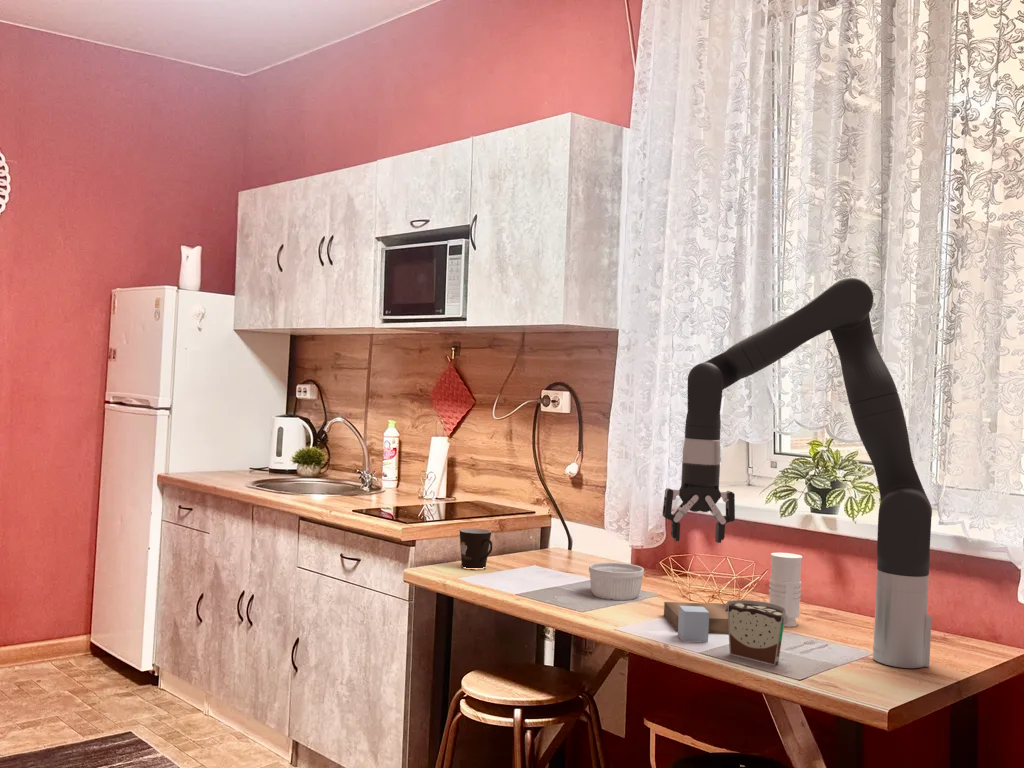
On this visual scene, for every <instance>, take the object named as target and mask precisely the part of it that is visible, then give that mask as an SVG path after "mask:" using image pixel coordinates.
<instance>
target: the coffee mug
mask: <svg viewBox="0 0 1024 768" xmlns="http://www.w3.org/2000/svg"><path fill="white" fill-rule="evenodd" d="M491 537H492V530H489V529H486V528H485V529H484V528H471V527H470V528H469V527H468V528H461V529H459V543H460V560H461V562H460V563H461V567H462V566H463V567H466V568H483V567H487V566H486V565H487V560H488V557H489V556H490V554H491V553H492V550H493V542H492V540H491Z"/></svg>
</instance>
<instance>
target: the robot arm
mask: <svg viewBox="0 0 1024 768" xmlns="http://www.w3.org/2000/svg"><path fill="white" fill-rule="evenodd" d="M873 305H874V294H873V290H872V289H871V286H870V285H869V284H868V283H867V282H866V281H864V280H862V279H860V278H857V277H849V276H848V277H844V278H840V279H838V280H836V281H834V282H833V283H831V284H830V285H829V287H827V288H826V289H825V290H824V291H823V292H821V293H819V294H818V296H816V297H815V298H814V299H812V300H811V301H810V302H809V303H807V304H805V305H803V306H802V307H801V308H799V309H797V310H796V311H794V312H793V313H791V314H789V315H787V316H786V317H784V318H782V319H779V320H778V321H776V322H774V323H772V324H770V325H769V326H766V327H764V328H763V329H761V330H759V331H757V332H755V333H753V334H751V335H749V336H747V337H746V338H743V339H742V340H740V341H738V342H737V343H735V344H733V345H732V346H730V347H729V348H728V349H727V350H725V351H723V352H722V353H720V354H718V355H716V356H714V357H712V358H709V359H708V360H706V361H704V362H700V363H698V364H696V365H694V366H693V367H692V368H691V370H690V371H689V373H688V375H687V413H686V416H685V417H686V419H685V430H684V442H683V448H682V464H681V465H682V466H681V479H680V480H681V482H680V485H681V486H680V488H679V489H673V488H672V489H671V488H669V487H667V488H665V490H664V497H663V506H662V517H663V518H665V519H667V520H669V521H670V523H671V528H670V530H671V531H670V535H671V538H672V539H673V541H675V542H680V539H681V538H680V537H681V522H680V520H681V519H683V517H684V516H685V515H687V514H688V512H689V511H690V512H695V513H696V512H703V513H708V512H710V514H712V515H713V517H714V519H715V520H716V523H715V534H714V535H715V536H714V537H715V538H714V539H715V540H714V541H715V543H716V544H721V543H722V541H724V539H725V533H726V524H728V523H731V522H732V523H733V522H734V521H735V520H736V519H735V518H736V517H735V516H736V513H735V512H736V508H735V507H736V505H735V503H736V502H735V500H736V499H735V493H734V492H733V491H730V490H727V491H720V472H721V461H722V457H721V451H722V449H721V429H722V427H721V426H722V425H721V424H722V423H721V422H722V419H721V409H722V398H723V391H724V390H725V389H727V388H729V387H730V386H733V385H734V384H735V383H736V382H738V381H740V380H742V379H745V378H748V377H750V376H753V375H754V374H755V373H758V372H759V371H761V370H763V369H765V368H767V367H769V366H771V365H772V364H773V363H776V362H777V361H779V360H781V359H782V358H783V357H786V356H787V355H788V354H790V353H791V352H793V351H794V350H796V349H797V348H799V347H801V346H802V345H803V344H805V343H807V342H808V341H810V340H812V339H814V338H815V337H817V336H820V335H821V334H824V333H826V332H828V331H829V332H830V335H831V336H832V340H833V343H834V345H835V348H836V350H837V353H838V356H839V360H840V366H841V371H842V377H843V382H844V387H845V392H846V397H847V400H848V404H849V409H850V411H851V415H852V418H853V422H854V425H855V428H856V430H857V433H858V436H859V438H860V441H861V442H862V444H863V447H864V449H865V451H866V453H867V456H868V457H869V459H870V462H871V464H872V466H873V468H874V473H875V477H876V481H877V486H878V491H879V497H880V499H879V500H880V504H879V507H878V513H877V514H878V516H877V518H878V519H877V537H876V538H877V541H876V542H877V543H876V561H877V565H876V582H875V583H876V588H875V608H874V627H873V630H874V631H873V645H872V658H873V660H874V661H876V662H878V663H880V664H883V665H887V666H891V667H896V668H902V669H919V668H920V669H921V668H924V667H926V668H927V667H928V668H929V667H930V661H931V643H932V642H931V640H932V637H931V636H932V621H933V620H932V615H930V614H928V604H929V603H928V601H929V598H928V597H929V578H930V576H929V574H930V564H931V563H930V561H931V560H930V557H931V556H930V555H931V552H930V551H931V537H932V535H931V533H932V531H931V530H932V516H933V507H932V505H931V502H930V499H929V498H928V496H927V494H926V492H925V489H924V487H923V484H922V482H921V480H920V477H919V474H918V472H917V471H918V470H917V469H916V467H915V464H914V460H913V457H912V451H911V445H910V444H911V443H910V439H909V438H910V437H909V432H908V427H907V421H906V418H905V413H904V410H903V406H902V402H901V399H900V395H899V393H898V392H899V391H898V389H897V386H896V383H895V380H894V379H893V376H892V374H891V372H890V371H889V368H888V367H887V364H886V362H885V361H884V359H883V357H882V356H881V354H880V352H879V350H878V346H877V344H876V340H875V337H874V333H873V327H872V323H871V318H870V317H871V316H870V313H871V312H872V311H871V310H872V308H873ZM678 496H679V498H680V500H681V501H682V502H681V503H680V504H679V506H677V508H676V510H675V511H674V512H673V513H672V511H673V510H672V509H673V508H672V507H673V501H675V500H676V498H677V497H678ZM720 499H722V501H723V502H724V503H725V515H723V514H722V513H721V511H720V509H719V508H718V506H717V503H718V502H719V500H720Z"/></svg>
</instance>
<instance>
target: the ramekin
mask: <svg viewBox="0 0 1024 768" xmlns="http://www.w3.org/2000/svg"><path fill="white" fill-rule="evenodd" d="M588 573H589V580H590V589H591V593H593V596H595V595H596V596H595V597H597V596H599V597H598V598H600V597H602V598H601V599H604V598H606V599H605V600H610V599H613V600H612V601H632V600H636V599H637V598H638V596H640V594H641V589H642V584H643V583H642V582H643V576H644V575H645V568H643V567H642V566H640V565H637V564H631V563H625V562H614V561H613V562H612V561H611V562H610V561H609V562H607V561H605V562H594V563H591V564H590V565H589V566H588Z"/></svg>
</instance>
